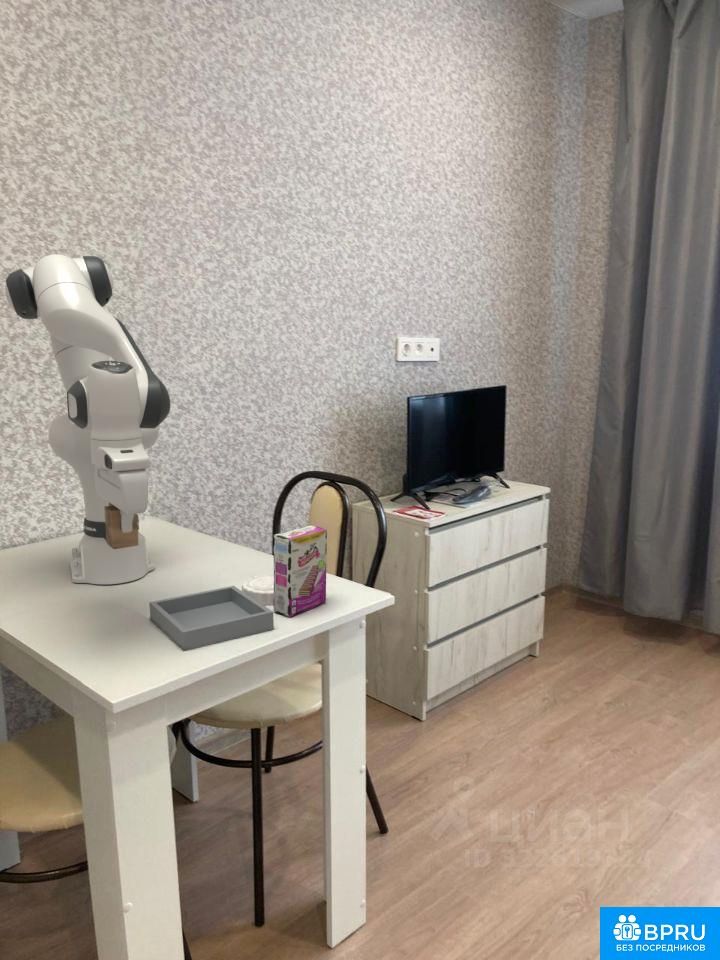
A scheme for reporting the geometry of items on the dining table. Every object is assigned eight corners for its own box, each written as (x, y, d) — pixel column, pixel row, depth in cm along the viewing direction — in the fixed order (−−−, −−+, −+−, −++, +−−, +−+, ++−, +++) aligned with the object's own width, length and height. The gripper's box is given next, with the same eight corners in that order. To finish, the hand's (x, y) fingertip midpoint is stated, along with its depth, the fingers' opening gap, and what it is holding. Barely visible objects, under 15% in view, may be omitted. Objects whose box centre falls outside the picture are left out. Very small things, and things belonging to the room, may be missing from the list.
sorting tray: (150, 619, 147) (149, 602, 146) (234, 601, 157) (233, 585, 156) (183, 650, 132) (182, 632, 132) (273, 629, 142) (273, 611, 141)
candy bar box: (290, 618, 148) (289, 539, 144) (273, 612, 151) (271, 534, 148) (328, 603, 156) (327, 527, 153) (310, 598, 159) (310, 523, 156)
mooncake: (262, 584, 168) (262, 569, 168) (308, 592, 163) (308, 577, 162) (230, 601, 158) (230, 584, 157) (278, 610, 153) (278, 593, 152)
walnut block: (106, 543, 137) (104, 506, 135) (130, 539, 139) (128, 503, 138) (113, 549, 133) (111, 511, 132) (138, 545, 136) (136, 508, 134)
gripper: (84, 446, 140) (88, 518, 142) (116, 463, 123) (120, 543, 126) (117, 444, 143) (121, 513, 146) (153, 460, 126) (156, 538, 129)
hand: (121, 527), depth 136 cm, fingers closed on walnut block, 4 cm apart
